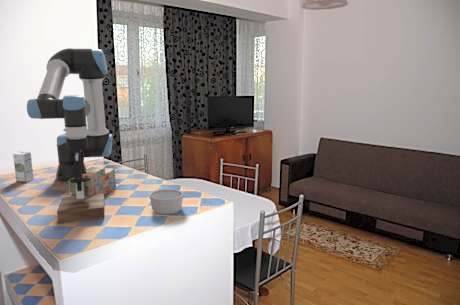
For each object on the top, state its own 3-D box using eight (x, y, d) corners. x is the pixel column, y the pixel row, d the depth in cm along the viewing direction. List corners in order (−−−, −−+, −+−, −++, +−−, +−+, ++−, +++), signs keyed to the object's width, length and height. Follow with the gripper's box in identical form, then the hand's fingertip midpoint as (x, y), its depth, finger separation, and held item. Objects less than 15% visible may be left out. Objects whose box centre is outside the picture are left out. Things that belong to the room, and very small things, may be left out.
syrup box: (34, 179, 185) (31, 151, 182) (26, 182, 179) (23, 153, 176) (24, 178, 186) (20, 150, 183) (15, 181, 180) (12, 153, 177)
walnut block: (63, 208, 148) (61, 197, 147) (104, 204, 153) (103, 193, 152) (58, 224, 133) (57, 211, 132) (104, 219, 138) (103, 207, 137)
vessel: (62, 194, 141) (60, 179, 140) (83, 189, 148) (82, 174, 147) (79, 201, 134) (77, 185, 133) (100, 195, 141) (99, 179, 140)
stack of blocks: (104, 186, 176) (102, 161, 173) (116, 187, 175) (114, 162, 172) (78, 201, 155) (76, 173, 152) (92, 202, 154) (90, 174, 151)
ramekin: (168, 201, 156) (168, 186, 155) (190, 209, 148) (190, 193, 146) (143, 210, 146) (142, 194, 145) (164, 219, 138) (164, 202, 136)
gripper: (68, 132, 145) (73, 186, 150) (62, 143, 125) (68, 205, 130) (88, 132, 147) (92, 185, 152) (86, 142, 127) (90, 202, 132)
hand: (81, 194), depth 141 cm, fingers closed on vessel, 9 cm apart
